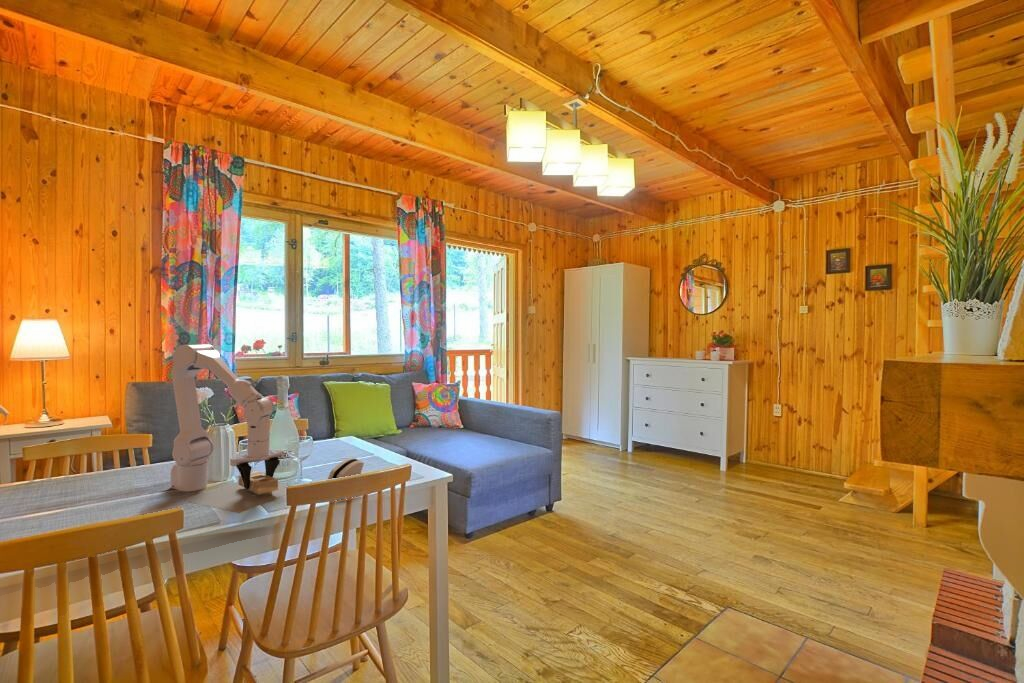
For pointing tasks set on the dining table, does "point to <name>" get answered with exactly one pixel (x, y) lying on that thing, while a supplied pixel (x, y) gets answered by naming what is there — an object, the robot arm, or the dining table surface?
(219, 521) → the dining table surface
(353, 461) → the tan half-round piece
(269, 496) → the board
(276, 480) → the tan block
